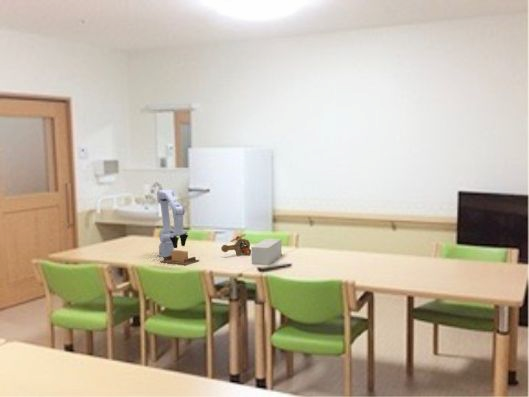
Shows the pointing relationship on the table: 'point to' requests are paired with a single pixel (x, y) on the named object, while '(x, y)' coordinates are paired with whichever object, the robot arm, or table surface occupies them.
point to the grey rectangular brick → (266, 251)
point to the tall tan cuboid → (179, 255)
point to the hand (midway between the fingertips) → (179, 247)
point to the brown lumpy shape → (238, 246)
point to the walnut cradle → (186, 261)
